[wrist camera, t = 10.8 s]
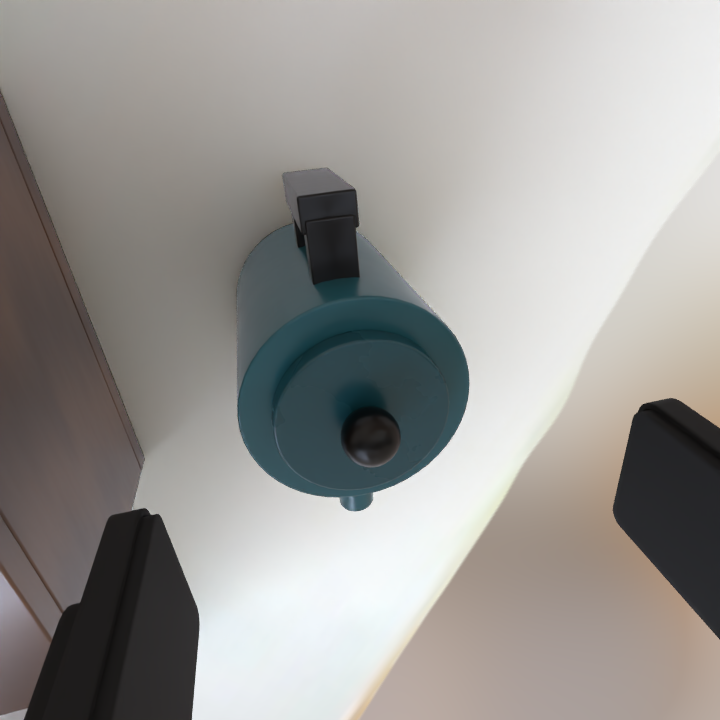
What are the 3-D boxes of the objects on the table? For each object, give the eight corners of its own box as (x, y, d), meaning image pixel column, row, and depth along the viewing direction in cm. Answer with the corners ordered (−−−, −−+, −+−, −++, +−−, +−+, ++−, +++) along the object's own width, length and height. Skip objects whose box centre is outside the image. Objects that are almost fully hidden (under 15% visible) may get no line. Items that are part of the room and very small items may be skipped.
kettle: (206, 170, 16) (175, 251, 8) (380, 150, 17) (521, 201, 9) (265, 431, 22) (285, 647, 13) (395, 405, 23) (492, 591, 14)
